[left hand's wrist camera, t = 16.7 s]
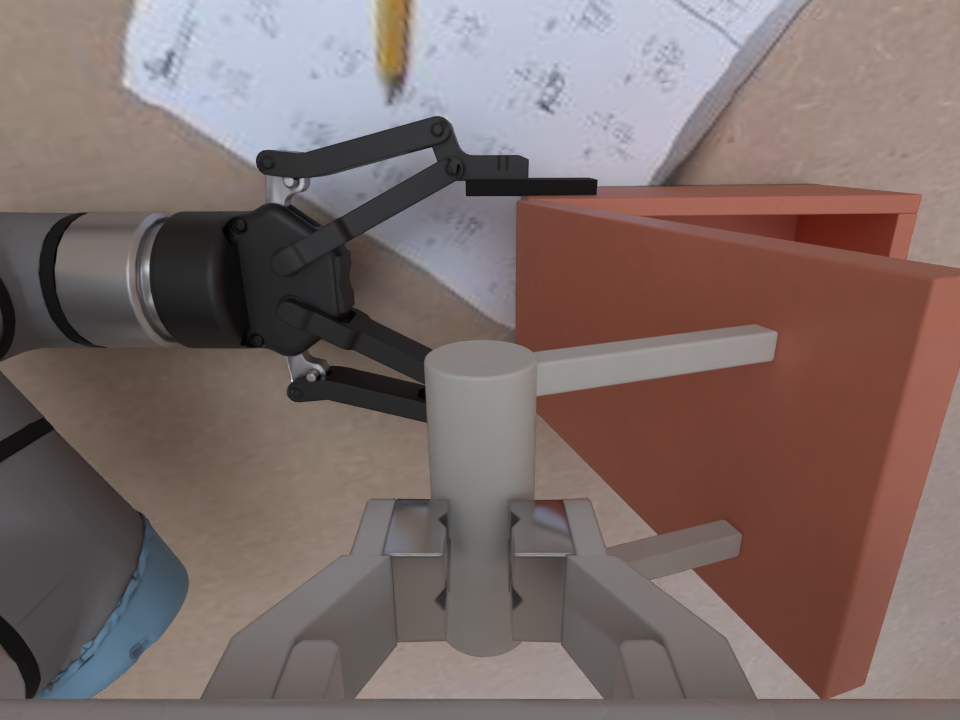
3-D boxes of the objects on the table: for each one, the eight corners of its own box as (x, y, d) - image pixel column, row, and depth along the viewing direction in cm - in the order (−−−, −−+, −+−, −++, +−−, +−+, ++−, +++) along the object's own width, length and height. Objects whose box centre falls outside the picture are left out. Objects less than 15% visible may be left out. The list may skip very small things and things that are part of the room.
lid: (990, 272, 9) (478, 328, 7) (866, 686, 12) (486, 832, 10) (541, 199, 25) (340, 208, 23) (537, 388, 29) (360, 413, 26)
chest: (810, 183, 34) (922, 194, 25) (784, 328, 37) (875, 385, 28) (521, 187, 35) (527, 199, 26) (519, 329, 38) (525, 384, 29)
